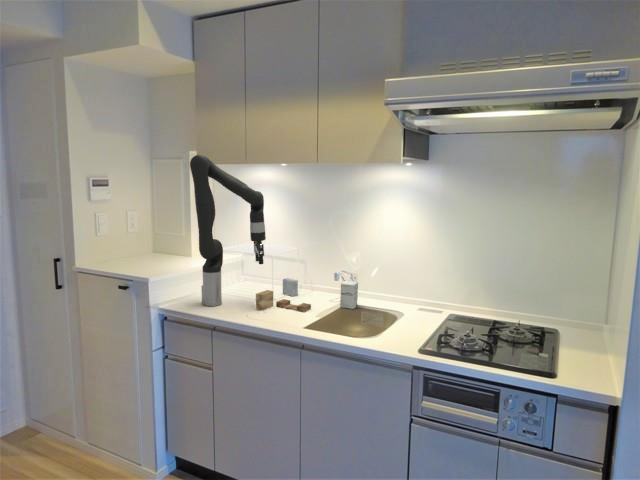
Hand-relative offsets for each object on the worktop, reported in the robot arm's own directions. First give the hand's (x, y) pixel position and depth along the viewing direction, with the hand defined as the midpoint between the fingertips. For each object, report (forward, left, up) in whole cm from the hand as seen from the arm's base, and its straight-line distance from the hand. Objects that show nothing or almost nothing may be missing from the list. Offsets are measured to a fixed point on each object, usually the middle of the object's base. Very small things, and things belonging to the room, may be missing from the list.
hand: (259, 262), depth 236 cm
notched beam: (+18, +5, -22) cm, 29 cm away
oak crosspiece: (+6, -4, -22) cm, 23 cm away
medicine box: (+2, +25, -22) cm, 33 cm away
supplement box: (+40, +22, -22) cm, 51 cm away
